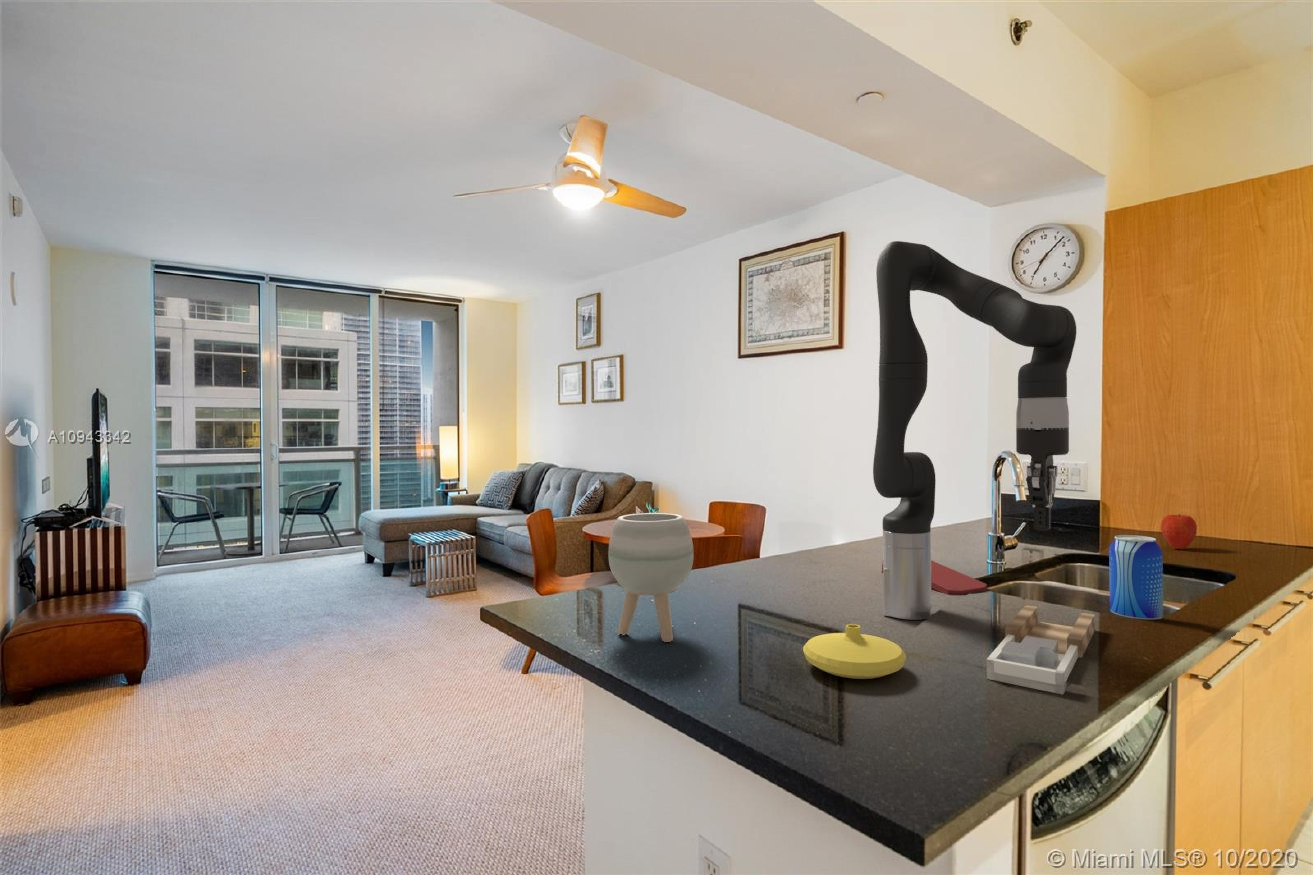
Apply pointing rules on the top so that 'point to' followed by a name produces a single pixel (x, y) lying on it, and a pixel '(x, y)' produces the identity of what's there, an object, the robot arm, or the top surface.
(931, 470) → the robot arm
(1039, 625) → the slot board
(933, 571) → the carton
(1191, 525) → the apple
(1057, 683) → the tray
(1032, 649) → the chip
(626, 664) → the top surface
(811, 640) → the vase
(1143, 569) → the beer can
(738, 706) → the top surface
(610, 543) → the planter
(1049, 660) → the chip
